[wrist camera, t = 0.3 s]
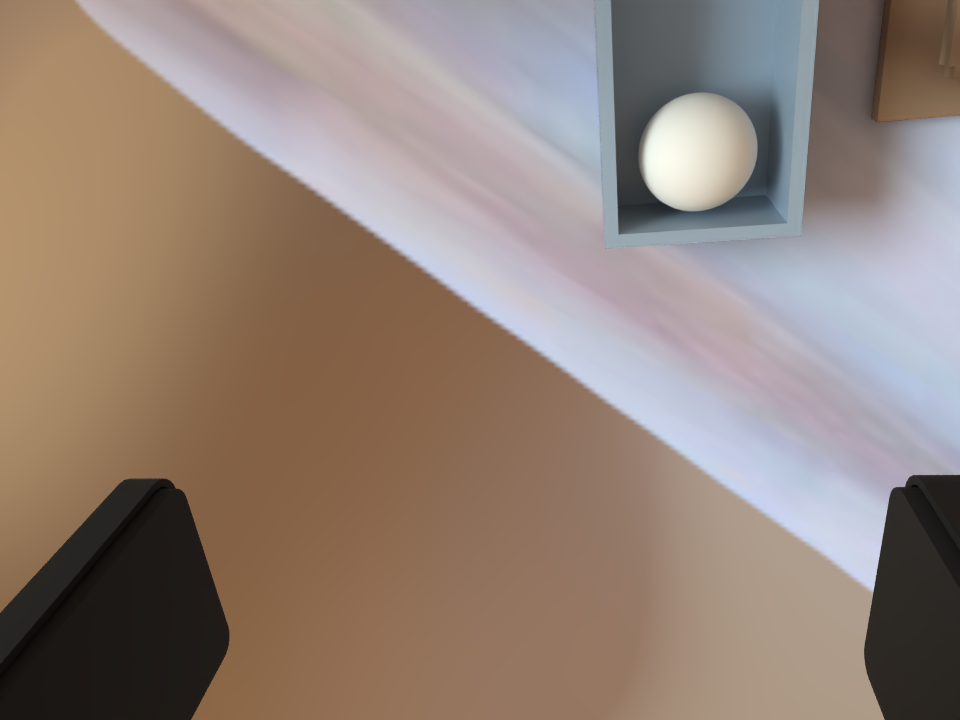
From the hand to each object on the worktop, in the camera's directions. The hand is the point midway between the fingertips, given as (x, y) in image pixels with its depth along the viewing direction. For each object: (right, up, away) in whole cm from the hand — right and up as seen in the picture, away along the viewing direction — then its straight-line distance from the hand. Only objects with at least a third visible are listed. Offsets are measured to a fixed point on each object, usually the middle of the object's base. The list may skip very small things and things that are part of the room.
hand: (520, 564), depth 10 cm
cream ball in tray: (+9, +12, +23) cm, 27 cm away
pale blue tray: (+9, +16, +24) cm, 31 cm away
